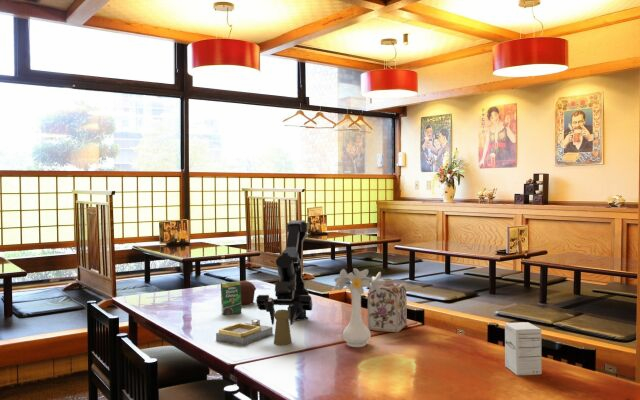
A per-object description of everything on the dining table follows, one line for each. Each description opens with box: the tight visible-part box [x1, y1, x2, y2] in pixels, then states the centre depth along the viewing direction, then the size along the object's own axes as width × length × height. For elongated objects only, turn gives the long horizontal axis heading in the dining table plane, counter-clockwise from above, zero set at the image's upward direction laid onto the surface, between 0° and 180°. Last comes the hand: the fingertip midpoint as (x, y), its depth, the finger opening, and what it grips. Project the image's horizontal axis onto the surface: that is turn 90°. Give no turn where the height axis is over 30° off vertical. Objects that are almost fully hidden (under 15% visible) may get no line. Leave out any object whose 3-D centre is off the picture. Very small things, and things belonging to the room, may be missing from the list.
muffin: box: [238, 280, 257, 306], centre depth 240 cm, size 12×11×10 cm
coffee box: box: [220, 280, 242, 316], centre depth 220 cm, size 8×3×13 cm, turn 113°
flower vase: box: [331, 267, 385, 348], centre depth 174 cm, size 13×18×25 cm
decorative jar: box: [367, 277, 408, 333], centre depth 194 cm, size 12×12×18 cm
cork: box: [273, 309, 292, 346], centre depth 176 cm, size 6×6×11 cm
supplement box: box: [504, 321, 542, 376], centre depth 146 cm, size 7×7×13 cm
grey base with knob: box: [215, 319, 274, 346], centre depth 184 cm, size 16×12×4 cm
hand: (281, 324), depth 175 cm, fingers open, 6 cm apart
